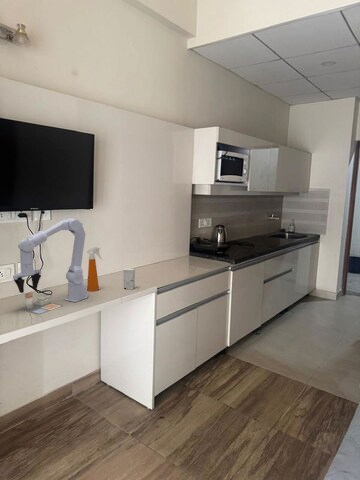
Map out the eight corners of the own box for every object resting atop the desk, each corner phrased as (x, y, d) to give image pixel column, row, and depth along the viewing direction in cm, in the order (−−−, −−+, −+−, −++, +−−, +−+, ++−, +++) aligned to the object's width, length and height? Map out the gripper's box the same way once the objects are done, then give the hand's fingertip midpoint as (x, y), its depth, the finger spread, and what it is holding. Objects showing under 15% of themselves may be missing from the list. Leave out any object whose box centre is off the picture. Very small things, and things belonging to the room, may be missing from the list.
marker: (30, 306, 175) (29, 292, 174) (34, 307, 173) (33, 293, 172) (24, 308, 172) (23, 294, 171) (28, 309, 170) (28, 295, 169)
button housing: (42, 301, 183) (42, 298, 182) (48, 303, 180) (48, 299, 180) (35, 304, 179) (35, 300, 178) (41, 305, 176) (41, 302, 176)
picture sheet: (43, 302, 184) (43, 301, 184) (63, 307, 177) (63, 305, 177) (18, 311, 171) (18, 309, 171) (39, 316, 164) (39, 314, 164)
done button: (42, 300, 181) (42, 297, 181) (46, 301, 180) (46, 297, 180) (37, 301, 179) (37, 298, 178) (41, 302, 177) (41, 299, 177)
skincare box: (123, 289, 207) (122, 269, 205) (125, 287, 212) (125, 267, 210) (133, 289, 206) (132, 269, 205) (135, 287, 211) (135, 268, 209)
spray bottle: (100, 292, 200) (99, 247, 196) (84, 290, 203) (83, 246, 200) (106, 289, 206) (105, 246, 203) (91, 287, 210) (90, 245, 206)
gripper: (34, 260, 177) (35, 286, 179) (8, 265, 165) (9, 293, 167) (43, 261, 174) (44, 288, 176) (17, 267, 161) (19, 295, 163)
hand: (28, 290), depth 171 cm, fingers open, 7 cm apart
